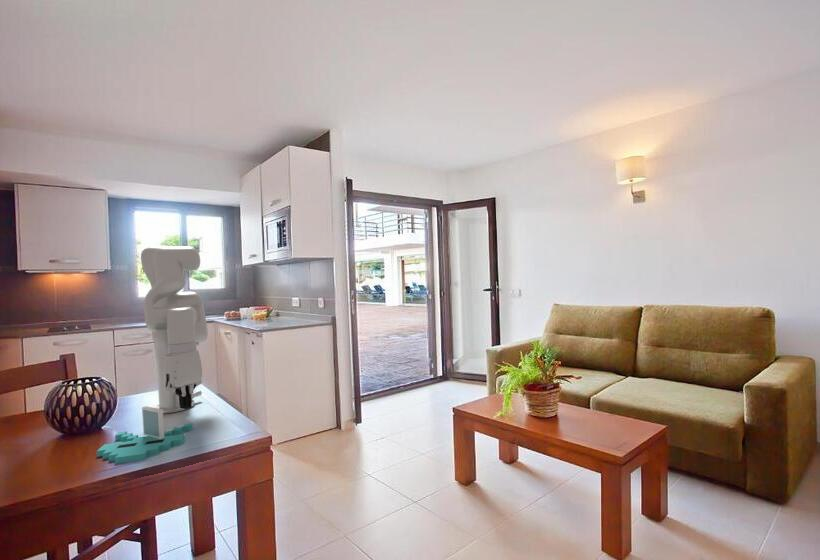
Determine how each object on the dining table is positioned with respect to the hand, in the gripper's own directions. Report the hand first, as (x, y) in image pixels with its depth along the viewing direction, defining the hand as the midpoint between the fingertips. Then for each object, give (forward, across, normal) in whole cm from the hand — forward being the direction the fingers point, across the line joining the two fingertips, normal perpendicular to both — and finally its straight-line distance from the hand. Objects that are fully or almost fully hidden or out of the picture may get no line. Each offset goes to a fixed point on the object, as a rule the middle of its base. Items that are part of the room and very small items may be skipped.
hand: (185, 407), depth 126 cm
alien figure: (+8, +13, 0) cm, 15 cm away
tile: (+5, +10, -1) cm, 11 cm away
